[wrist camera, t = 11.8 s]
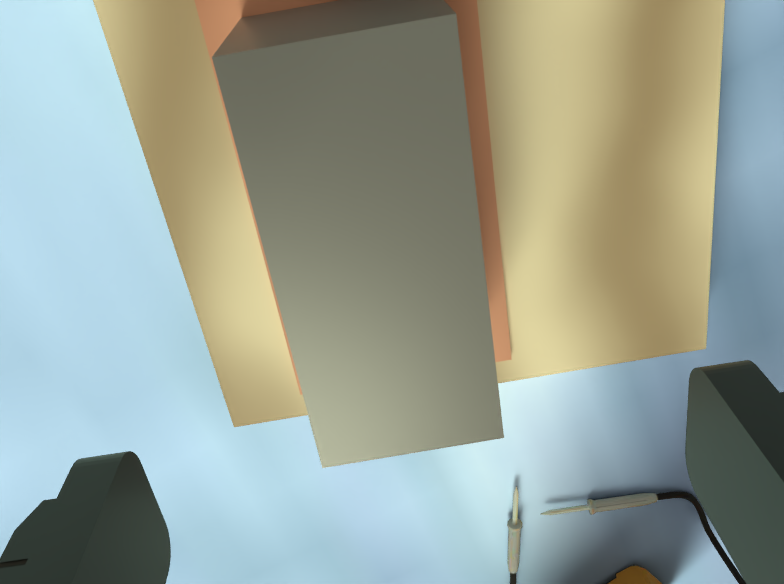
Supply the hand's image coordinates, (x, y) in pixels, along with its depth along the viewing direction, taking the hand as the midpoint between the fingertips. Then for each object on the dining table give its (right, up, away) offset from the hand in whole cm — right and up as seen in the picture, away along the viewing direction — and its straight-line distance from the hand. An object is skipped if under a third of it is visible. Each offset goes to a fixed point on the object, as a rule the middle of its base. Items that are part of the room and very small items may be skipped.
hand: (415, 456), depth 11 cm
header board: (+1, +6, +12) cm, 14 cm away
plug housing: (-1, +5, +11) cm, 12 cm away
